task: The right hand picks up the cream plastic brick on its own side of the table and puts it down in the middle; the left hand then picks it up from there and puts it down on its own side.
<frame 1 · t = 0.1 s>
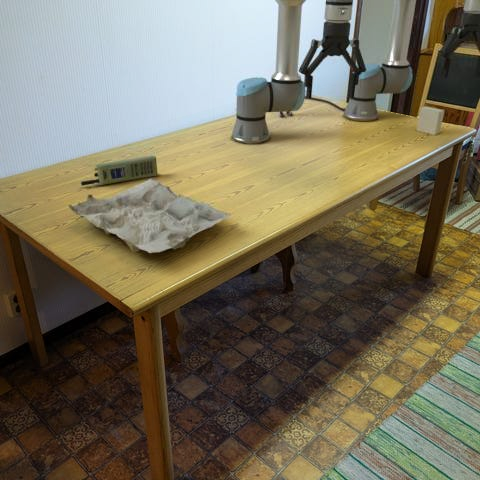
left hand: (329, 97, 154), 28 cm above the table, tool pointing down, fingers open, 13 cm apart
right hand: (460, 76, 183), 28 cm above the table, tool pointing down, fingers open, 13 cm apart
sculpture: (150, 226, 139), on the table
brick: (428, 131, 218), on the table
handheld radio: (120, 181, 166), on the table
figurine: (284, 115, 236), on the table
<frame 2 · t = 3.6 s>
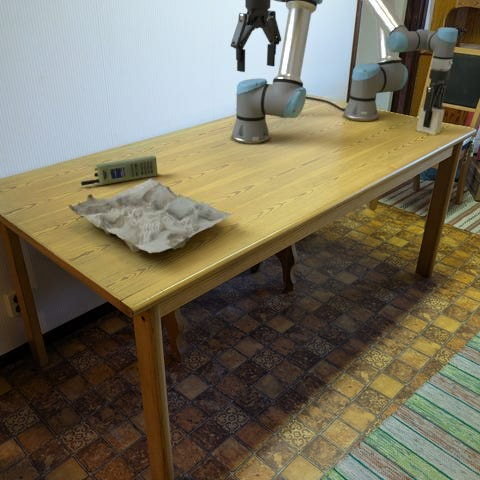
left hand: (256, 68, 161), 34 cm above the table, tool pointing down, fingers open, 13 cm apart
right hand: (429, 125, 216), 3 cm above the table, tool pointing down, fingers closed on brick, 5 cm apart
brick: (428, 131, 218), on the table, touching right hand
everything else where it was.
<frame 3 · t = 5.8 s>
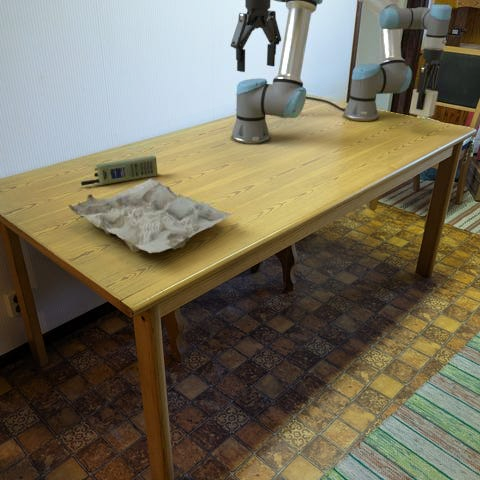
left hand: (256, 68, 161), 34 cm above the table, tool pointing down, fingers open, 13 cm apart
right hand: (422, 107, 209), 11 cm above the table, tool pointing down, fingers closed on brick, 5 cm apart
brick: (421, 114, 210), point 8 cm above the table, touching right hand
everything else where it was.
when the right hand's fingers open (4 cm above the table, at t = 8.5 s): brick drops 2 cm, on the table.
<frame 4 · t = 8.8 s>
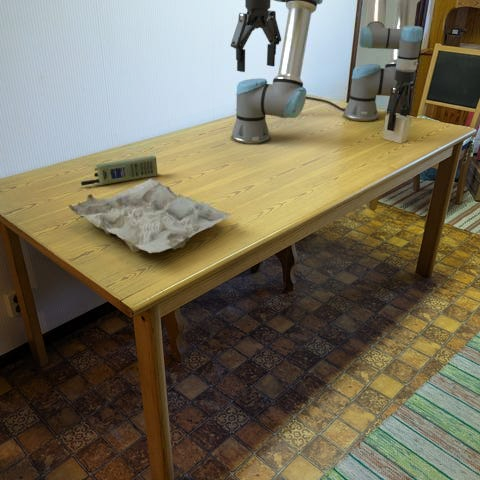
left hand: (256, 68, 161), 34 cm above the table, tool pointing down, fingers open, 13 cm apart
right hand: (396, 128, 205), 5 cm above the table, tool pointing down, fingers open, 8 cm apart
brick: (394, 139, 207), on the table
everything else where it was.
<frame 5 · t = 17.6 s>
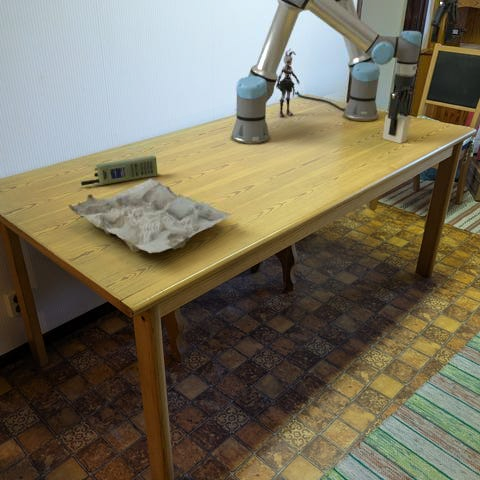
left hand: (395, 133, 206), 3 cm above the table, tool pointing down, fingers closed on brick, 5 cm apart
right hand: (441, 41, 226), 33 cm above the table, tool pointing down, fingers open, 13 cm apart
brick: (394, 139, 207), on the table, touching left hand
everything else where it was.
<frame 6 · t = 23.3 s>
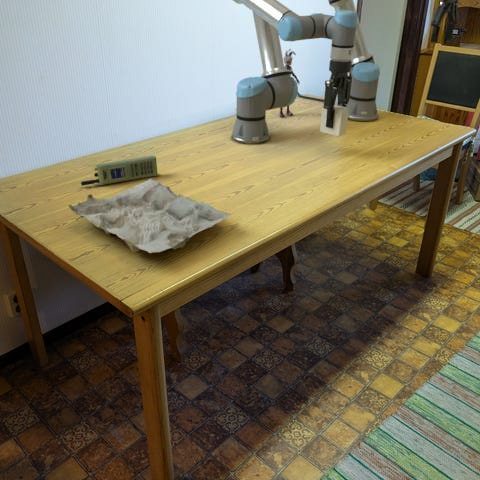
left hand: (333, 125, 186), 11 cm above the table, tool pointing down, fingers closed on brick, 5 cm apart
right hand: (441, 41, 226), 33 cm above the table, tool pointing down, fingers open, 13 cm apart
brick: (332, 132, 188), point 8 cm above the table, touching left hand
everything else where it was.
when the left hand's fingers open (4 cm above the table, at t = 29.1 s): brick drops 2 cm, on the table.
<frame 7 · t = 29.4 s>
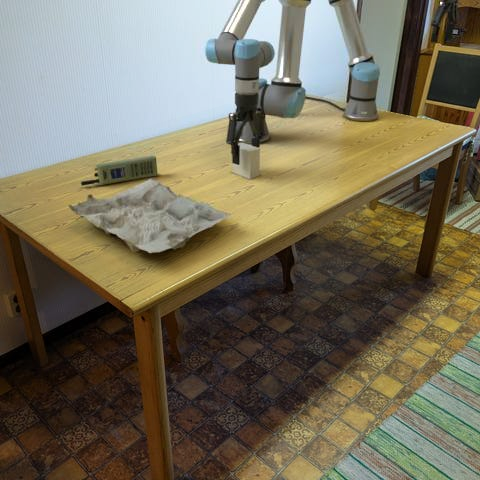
left hand: (245, 160, 171), 5 cm above the table, tool pointing down, fingers open, 8 cm apart
right hand: (441, 41, 226), 33 cm above the table, tool pointing down, fingers open, 13 cm apart
brick: (245, 173, 173), on the table
everything else where it was.
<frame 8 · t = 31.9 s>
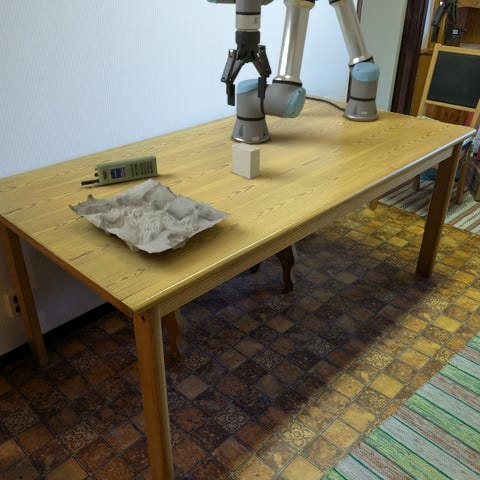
left hand: (246, 101, 161), 25 cm above the table, tool pointing down, fingers open, 13 cm apart
right hand: (441, 41, 226), 33 cm above the table, tool pointing down, fingers open, 13 cm apart
nothing on the table moved.
at the end: brick inside the target area (0.1 cm from its centre), on the table; brick tilted 0°; the two hands never held the brick at the same time; the left hand is holding nothing; the right hand is holding nothing; brick at rest at the end (0.0 cm/s) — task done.
